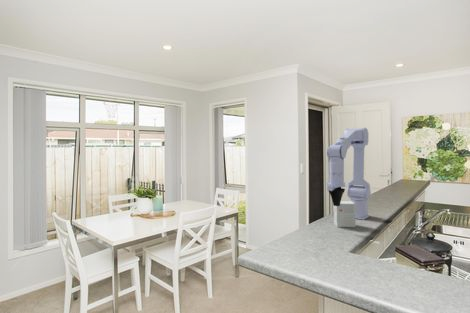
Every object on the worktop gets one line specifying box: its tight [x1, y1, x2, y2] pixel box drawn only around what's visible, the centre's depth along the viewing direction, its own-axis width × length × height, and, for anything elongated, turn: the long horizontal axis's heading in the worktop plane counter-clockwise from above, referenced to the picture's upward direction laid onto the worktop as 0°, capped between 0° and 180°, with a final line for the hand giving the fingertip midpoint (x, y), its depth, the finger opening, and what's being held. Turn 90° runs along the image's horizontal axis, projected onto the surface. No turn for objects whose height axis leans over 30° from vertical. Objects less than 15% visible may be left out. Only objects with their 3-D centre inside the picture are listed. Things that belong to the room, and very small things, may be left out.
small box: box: [333, 200, 356, 228], centre depth 128 cm, size 8×6×10 cm
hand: (336, 205), depth 121 cm, fingers closed
